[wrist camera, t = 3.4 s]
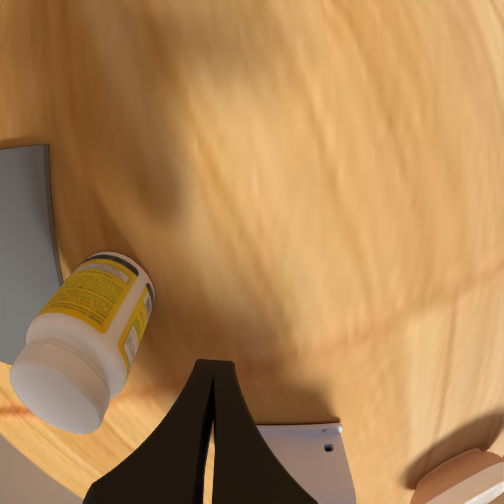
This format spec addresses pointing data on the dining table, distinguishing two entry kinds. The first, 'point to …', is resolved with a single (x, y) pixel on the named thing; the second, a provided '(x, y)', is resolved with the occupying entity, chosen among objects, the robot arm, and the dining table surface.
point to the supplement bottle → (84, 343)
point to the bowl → (463, 480)
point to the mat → (25, 244)
